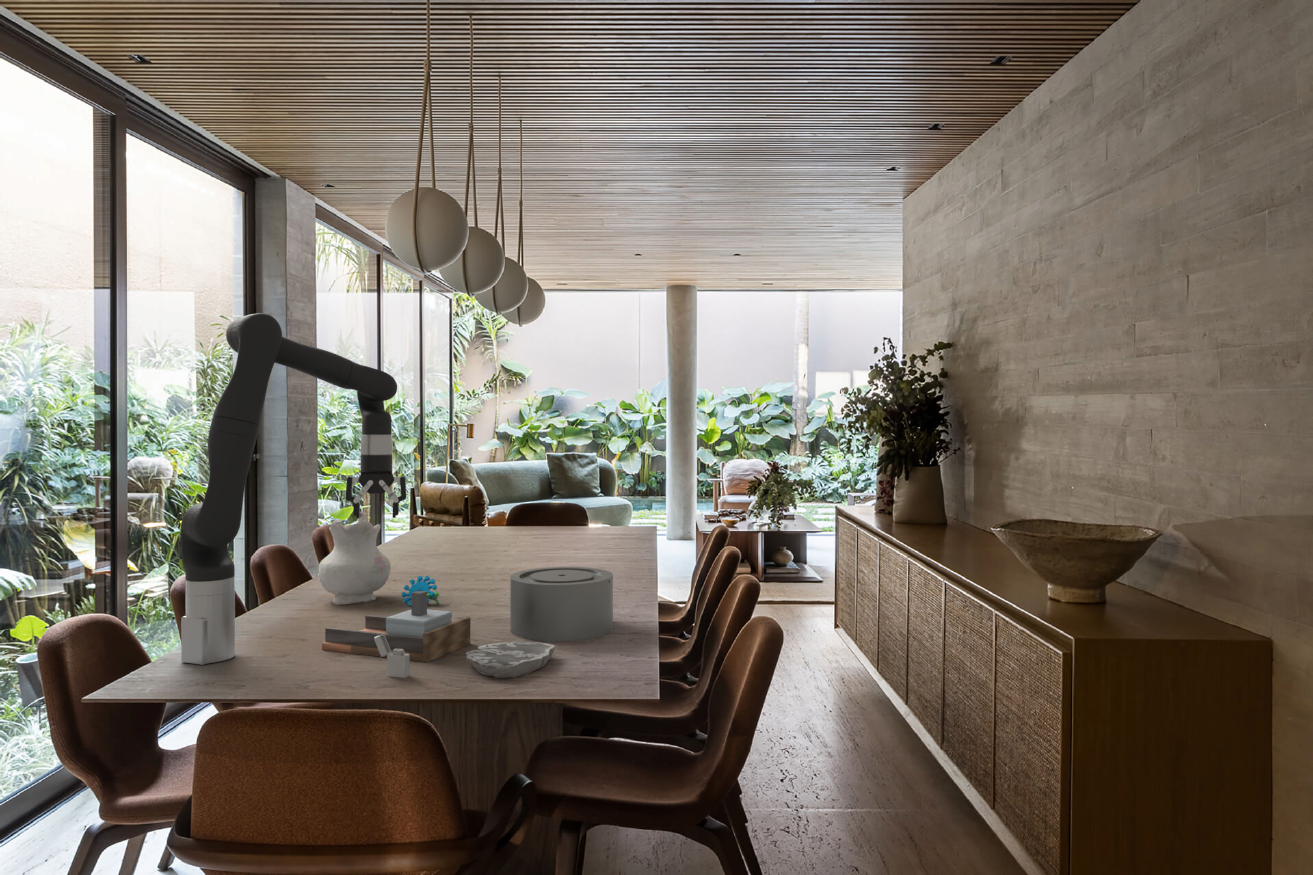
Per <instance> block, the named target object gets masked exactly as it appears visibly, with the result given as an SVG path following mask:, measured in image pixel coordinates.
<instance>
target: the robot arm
mask: <svg viewBox="0 0 1313 875" xmlns="http://www.w3.org/2000/svg"><path fill="white" fill-rule="evenodd" d="M225 339H226V341H227V343H228V345H229V347H230V348H231V349H232V350H233V352H236V353H237V358H236V364H235V367H234V371H233V373H232V375H231V378H230V380H229V381H228V383H227V386H226V387H225V388H224V390H223V392H222V394H221V396H220V398H219V399H218V402H216V403H217V404H216V406H215V408H214V411H213V414H212V418H211V422H210V427H209V432H208V438H207V454H208V455H207V456H208V466H209V467H208V468H209V477H208V484H207V487H206V492H205V494H204V495H205V496H204V498H203V502H202V501H201V502H198V503H195V504H194V505H192V506H190V507H189V508H188V509H187V510H186V511H185V512H184V514H183V516H182V518H181V524H180V546H181V547H180V548H181V549H180V550H181V563H182V566H183V569H184V574H185V577H184V578H185V615H184V616H182V617H181V619H180V620H181V621H180V623H181V624H180V626H181V627H180V628H181V629H180V630H181V631H180V633H181V635H180V636H181V637H180V638H181V640H180V641H181V643H180V644H181V646H180V647H181V649H180V650H181V656H180V658H181V659H180V660H181V663H187V664H188V663H189V664H193V665H202V666H203V665H207V664H211V663H219V662H223V661H226V660H230V659H233V658H234V657H235V656H236V618H235V617H236V598H235V597H236V596H235V595H236V594H235V593H236V592H235V591H236V590H235V589H236V586H235V584H236V582H235V580H236V579H235V578H236V577H235V575H236V572H235V571H236V570H235V569H236V566H235V563H234V562H233V561H232V559H231V555H230V554H229V553H230V552H229V547H228V546H229V544H230V543H231V542H233V540H234V539H235V538H236V537H237V535H238V533H239V531H240V529H241V524H242V523H241V522H242V514H243V504H244V498H245V497H244V495H245V489H246V483H247V479H248V475H249V472H250V471H249V470H250V467H251V462H252V458H253V454H254V451H255V449H254V448H255V446H256V442H257V438H258V434H259V430H260V426H261V419H262V414H263V408H264V405H265V400H266V396H267V391H268V385H269V381H270V377H271V374H272V372H273V368H274V366H275V364H278V365H281V366H284V367H287V368H291V369H294V370H296V371H299V372H302V374H303V373H304V374H306V375H308V376H310V377H314V378H316V379H317V380H321V381H323V382H326V383H328V384H330V385H334V386H336V387H338V388H341V389H344V390H352V391H356V396H357V397H356V398H357V401H358V407H359V411H360V414H361V417H362V418H361V440H360V475H359V476H358V477H357V476H352V475H351V476H348V477H346V484H345V485H346V488H345V501H347V502H351V503H352V504H353V505H352V506H353V509H352V510H353V516H354V517H355V519H357V520H358V518H360V513H361V512H360V511H361V503H360V501H361V499H363V497H364V496H365V494H366V493H367V494H369V495H370V494H371V495H373V494H379V495H382V494H387V495H388V496H389V497H390V499H391V500H392V501H393V502H392V519H396V518H397V516H398V515H399V513H400V512H399V510H400V509H399V508H400V502H402V501H406V499H407V484H406V482H407V481H406V476H404V475H400V476H394V474H393V452H394V447H393V439H392V437H393V436H392V431H393V430H392V429H393V428H392V427H393V426H392V424H393V421H392V415H391V414H390V413H389V412H388V411H386V408H385V404H384V402H385V401H389V400H391V399H393V398H394V397H395V396H396V394H397V392H398V384H397V381H396V379H395V378H394V377H393V376H392V375H390V373H388V372H386V371H383V370H381V369H378V368H377V369H376V368H373V367H371V366H368V365H362V364H359V363H357V362H354V361H352V360H351V359H348V358H346V357H344V356H341V355H339V354H337V353H334V352H332V351H328V350H325V349H322V348H319V347H314V346H312V345H311V346H310V345H307V344H305V343H300V342H298V341H294V340H292V339H289V338H286V337H285V336H283V331H282V327H281V325H280V323H279V322H278V320H277V318H275V317H273V316H272V315H270V314H268V313H262V312H260V313H259V312H256V313H251V314H248V315H243V316H240V317H238V318H235V319H233V321H231V322H230V323H229V325H228V326H227V328H226V330H225ZM394 482H396V484H397V485H398V486H400V495H399V496H397V494H396V493H395V492H394V490H393V489H392V488H391V486H392V485H393V484H394ZM357 483H359V484H360V485H361V487H362V489H361V490H360V491H359V493H357V494H356V496H353V487H354V486H355V485H356V484H357Z"/></svg>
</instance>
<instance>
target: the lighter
mask: <svg viewBox="0 0 1313 875" xmlns="http://www.w3.org/2000/svg"><path fill="white" fill-rule="evenodd" d="M374 640H375V643H376V645H377V647H378V650H379V652H380V655H381V658H384V657H383V656H385V655H387V657H386V664H387V665H386V670H387V671H386V672H387V674H386V676H387V677H391V678H401V679H406V678H408V677H410V672H411V670H410V666H411V665H410V663H411V660H410V654H404V653H405V652H404V650H403V649H394V650H393V653H391V649H390V647H389V644H388V642H387V640H386V637H385V635H384V634H381V635H379V636H377V637H375V638H374Z"/></svg>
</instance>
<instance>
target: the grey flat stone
mask: <svg viewBox="0 0 1313 875" xmlns="http://www.w3.org/2000/svg"><path fill="white" fill-rule="evenodd" d="M554 651H555V645H554V644H551V643H547V642H541V641H531V640H524V641H510V642H508V641H507V642H498V643H497V642H496V643H488V644H483V645H479V646H477V647H476V649H471V650H469V651H466V652H464V655H465V659H466V660H467V661H468V662H470V663H471V666H472V667H474V669H475V670H476V672H478V673H479V674H481V675H483V676H490V677H493V678H494V679H495V678H496V679H510V678H516V677H519V676H523V675H527V674H529V673H533V672H534V671H535V672H536V670H538V669H542V668H544V666H545V665H546V664H547V663H548V661H549V660H550V659H551V657H552V656H553V654H554Z"/></svg>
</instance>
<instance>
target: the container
mask: <svg viewBox="0 0 1313 875" xmlns="http://www.w3.org/2000/svg"><path fill="white" fill-rule="evenodd" d="M509 583H510V584H509V585H510V597H509V599H510V602H509V603H510V606H509V607H510V609H509V610H510V622H509V623H510V629H509V630H510V633H511V635H513V636H515V637H517V638H520V639H523V640H526V641H532V642H542V643H547V642H548V643H551V642H552V643H565V642H567V643H568V642H579V641H586V640H587V641H588V640H592V639H598V638H599V637H603V636H605V635H608V634H610V633H611V632H612V631H613V630H614V628H613V627H614V586H613V585H614V574H613V572H611V571H609V570H606V569H601V568H595V567H586V566H549V567H548V566H547V567H538V568H531V569H525V570H521V571H518V572H517V571H516V572H514V573H513V574H511V575H510V581H509Z"/></svg>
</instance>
